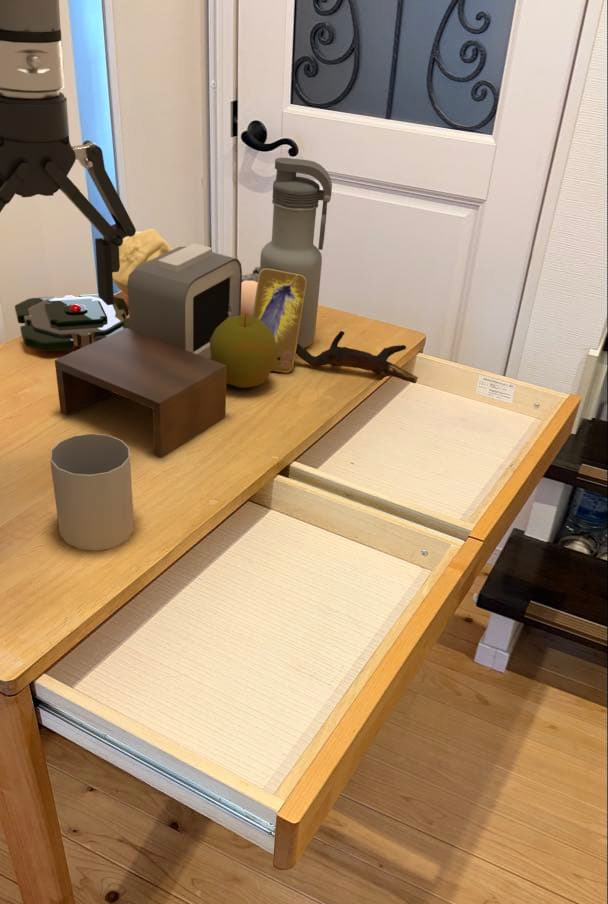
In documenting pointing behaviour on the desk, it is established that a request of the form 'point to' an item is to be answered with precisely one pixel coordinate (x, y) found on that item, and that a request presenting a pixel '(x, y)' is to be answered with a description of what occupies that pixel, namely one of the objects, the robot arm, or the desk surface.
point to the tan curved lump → (138, 254)
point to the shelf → (147, 383)
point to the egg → (248, 297)
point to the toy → (357, 359)
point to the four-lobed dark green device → (69, 321)
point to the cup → (93, 491)
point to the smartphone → (281, 311)
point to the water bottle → (298, 232)
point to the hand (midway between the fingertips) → (46, 308)
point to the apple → (244, 350)
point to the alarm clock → (184, 296)
